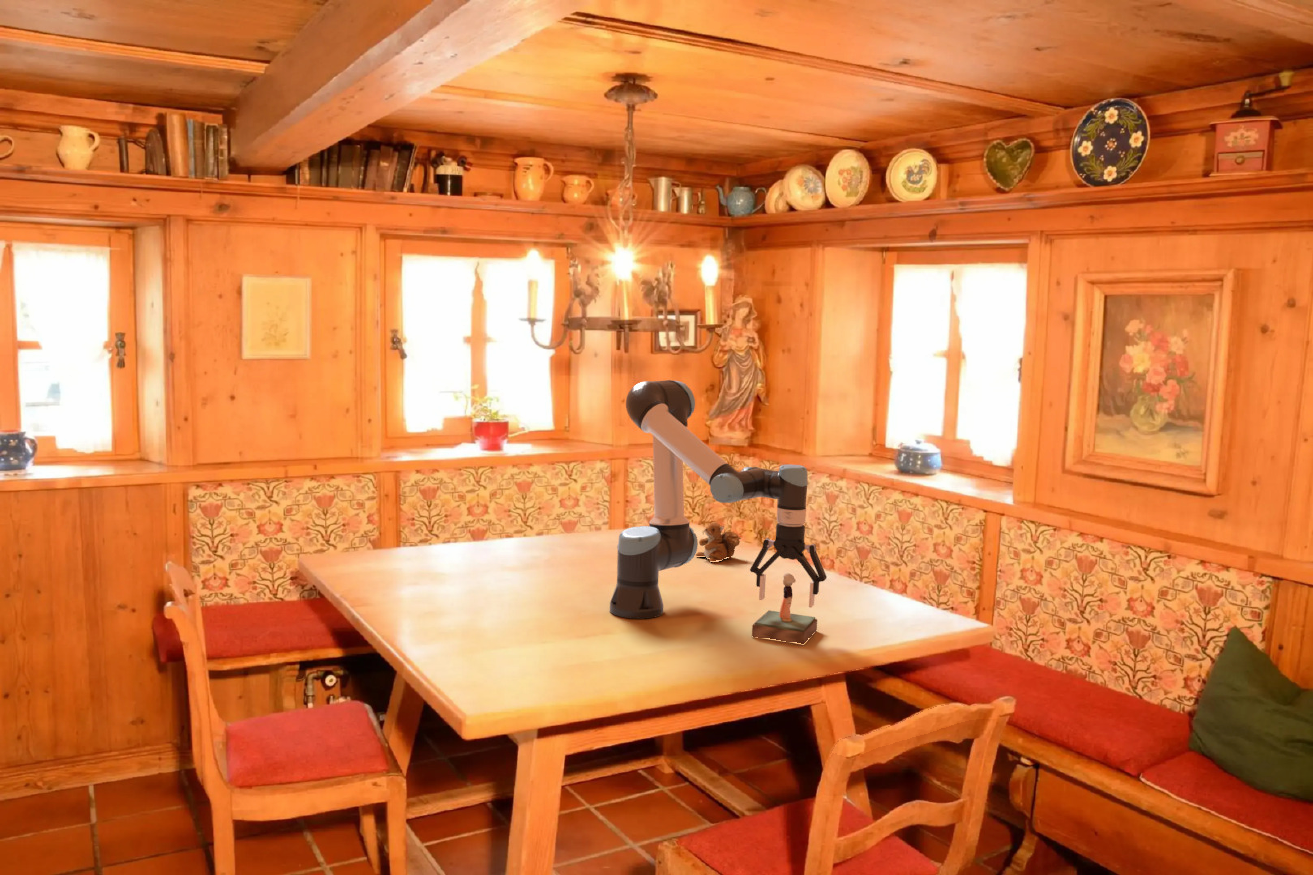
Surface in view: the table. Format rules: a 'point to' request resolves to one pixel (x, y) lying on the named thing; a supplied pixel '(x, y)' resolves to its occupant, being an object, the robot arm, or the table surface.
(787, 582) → the grandmother figurine
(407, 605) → the table surface
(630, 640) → the table surface
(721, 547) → the stuffed squirrel
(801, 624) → the sage green square panel
